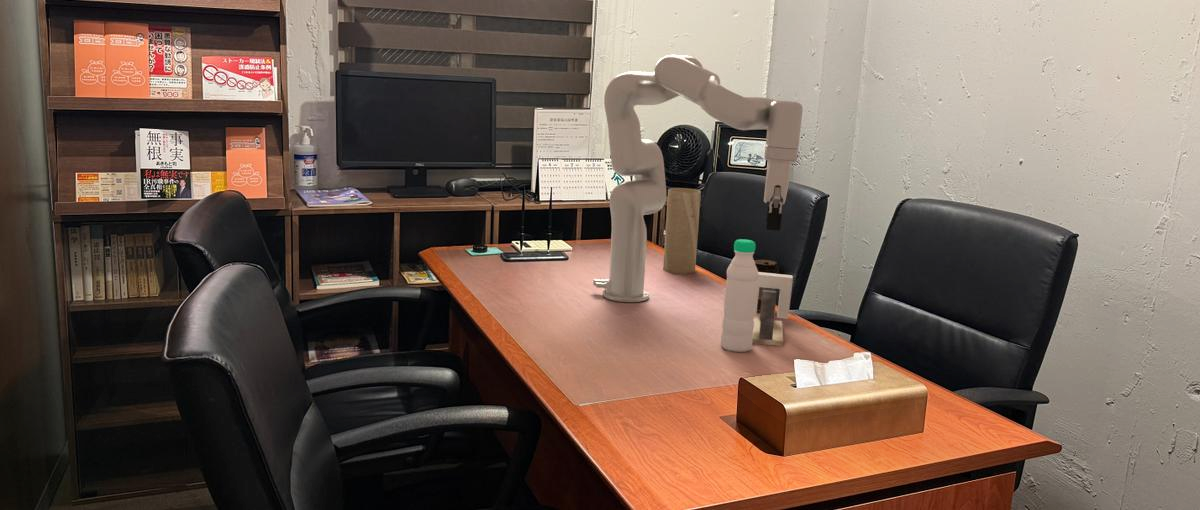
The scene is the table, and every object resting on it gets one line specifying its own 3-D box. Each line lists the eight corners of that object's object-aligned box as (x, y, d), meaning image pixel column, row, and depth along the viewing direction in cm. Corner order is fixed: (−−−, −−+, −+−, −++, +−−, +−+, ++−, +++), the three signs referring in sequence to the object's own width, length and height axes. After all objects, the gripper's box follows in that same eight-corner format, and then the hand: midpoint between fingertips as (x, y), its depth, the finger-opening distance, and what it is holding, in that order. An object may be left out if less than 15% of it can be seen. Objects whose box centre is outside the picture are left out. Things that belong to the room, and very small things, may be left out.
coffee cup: (775, 315, 228) (779, 266, 225) (742, 312, 229) (747, 263, 226) (775, 306, 236) (779, 259, 233) (744, 303, 238) (748, 256, 235)
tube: (700, 269, 275) (706, 190, 269) (686, 275, 267) (691, 194, 261) (672, 264, 280) (677, 187, 275) (657, 269, 272) (662, 190, 266)
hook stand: (747, 342, 204) (752, 290, 201) (749, 322, 220) (753, 274, 217) (782, 346, 202) (787, 294, 200) (781, 325, 219) (786, 277, 216)
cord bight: (745, 314, 209) (750, 273, 207) (745, 311, 212) (750, 271, 210) (788, 318, 208) (792, 278, 206) (787, 315, 211) (792, 275, 208)
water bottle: (717, 342, 203) (726, 237, 197) (747, 343, 203) (756, 237, 198) (724, 352, 196) (733, 243, 190) (755, 353, 196) (764, 244, 191)
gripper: (764, 149, 213) (757, 218, 217) (764, 157, 197) (756, 231, 201) (796, 152, 212) (788, 221, 216) (798, 159, 195) (789, 234, 199)
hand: (773, 226), depth 208 cm, fingers open, 9 cm apart
